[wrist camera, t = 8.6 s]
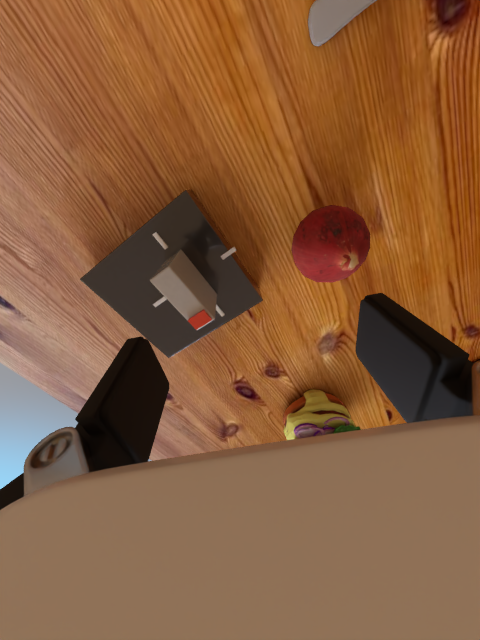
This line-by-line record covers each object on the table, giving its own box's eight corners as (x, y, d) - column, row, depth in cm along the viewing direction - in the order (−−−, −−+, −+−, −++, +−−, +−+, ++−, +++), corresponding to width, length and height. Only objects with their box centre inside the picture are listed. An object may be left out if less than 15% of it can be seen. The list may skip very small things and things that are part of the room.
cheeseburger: (350, 380, 32) (390, 462, 25) (336, 411, 39) (364, 480, 32) (278, 391, 32) (298, 475, 25) (278, 419, 39) (293, 490, 32)
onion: (277, 215, 20) (301, 231, 14) (341, 192, 20) (401, 196, 13) (290, 274, 23) (316, 311, 17) (346, 255, 23) (398, 286, 16)
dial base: (196, 184, 19) (191, 184, 16) (264, 284, 24) (268, 297, 21) (96, 268, 22) (78, 280, 19) (174, 341, 27) (168, 359, 24)
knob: (164, 261, 19) (147, 282, 15) (181, 248, 19) (168, 267, 15) (202, 304, 21) (196, 332, 17) (217, 294, 21) (215, 321, 17)
